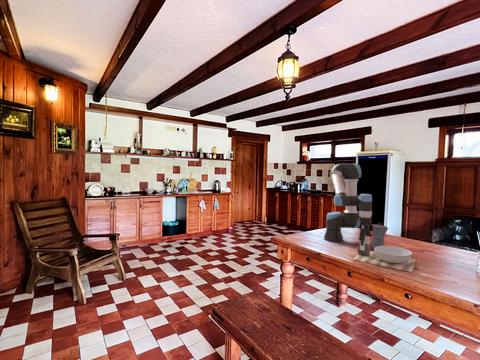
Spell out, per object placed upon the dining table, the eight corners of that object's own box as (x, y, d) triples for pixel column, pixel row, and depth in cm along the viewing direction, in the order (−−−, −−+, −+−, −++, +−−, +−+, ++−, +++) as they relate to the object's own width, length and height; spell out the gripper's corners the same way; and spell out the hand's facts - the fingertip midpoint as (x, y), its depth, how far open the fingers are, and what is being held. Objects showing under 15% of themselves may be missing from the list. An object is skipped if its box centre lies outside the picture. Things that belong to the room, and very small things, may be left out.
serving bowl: (377, 253, 177) (377, 243, 176) (413, 260, 163) (413, 249, 163) (370, 261, 160) (370, 250, 160) (409, 269, 147) (410, 258, 147)
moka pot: (385, 252, 181) (386, 224, 180) (363, 247, 193) (364, 221, 192) (390, 249, 187) (391, 222, 186) (369, 245, 199) (369, 219, 198)
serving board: (353, 259, 165) (353, 246, 165) (363, 250, 184) (363, 239, 184) (411, 272, 145) (412, 257, 145) (416, 260, 164) (416, 247, 164)
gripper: (366, 220, 159) (366, 253, 160) (375, 215, 179) (375, 244, 179) (354, 218, 164) (353, 251, 165) (364, 214, 183) (363, 243, 184)
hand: (365, 247), depth 172 cm, fingers open, 13 cm apart
